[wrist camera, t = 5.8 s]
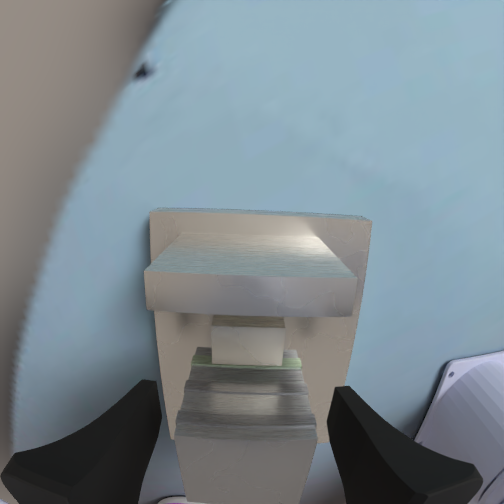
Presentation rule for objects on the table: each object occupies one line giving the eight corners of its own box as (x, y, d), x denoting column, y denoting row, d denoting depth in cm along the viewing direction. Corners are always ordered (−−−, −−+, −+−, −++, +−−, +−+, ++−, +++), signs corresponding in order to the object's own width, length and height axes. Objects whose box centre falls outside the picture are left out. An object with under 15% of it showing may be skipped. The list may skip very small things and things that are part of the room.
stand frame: (324, 427, 19) (346, 508, 12) (174, 423, 19) (154, 506, 12) (361, 216, 15) (434, 251, 9) (158, 207, 15) (94, 237, 8)
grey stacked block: (287, 419, 14) (299, 504, 9) (200, 417, 13) (185, 502, 9) (297, 348, 13) (320, 437, 8) (195, 345, 12) (172, 433, 8)
